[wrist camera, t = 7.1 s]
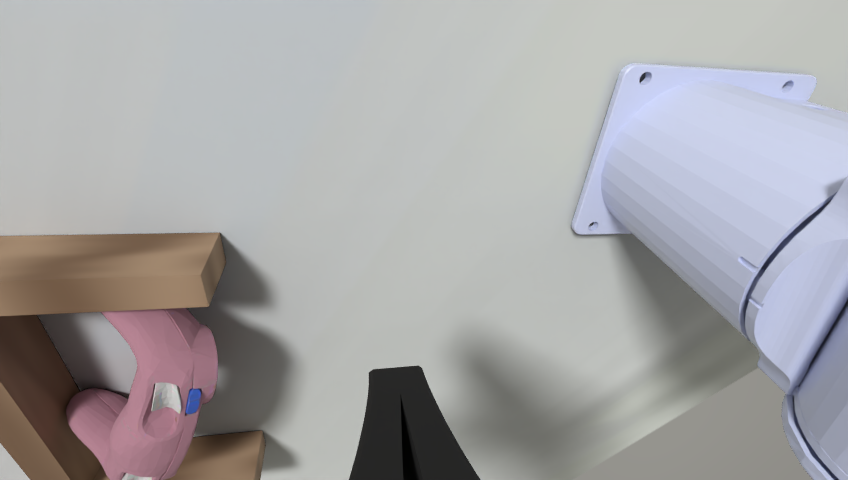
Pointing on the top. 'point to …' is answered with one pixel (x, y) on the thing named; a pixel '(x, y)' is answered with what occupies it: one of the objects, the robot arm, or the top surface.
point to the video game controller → (150, 396)
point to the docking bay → (97, 292)
